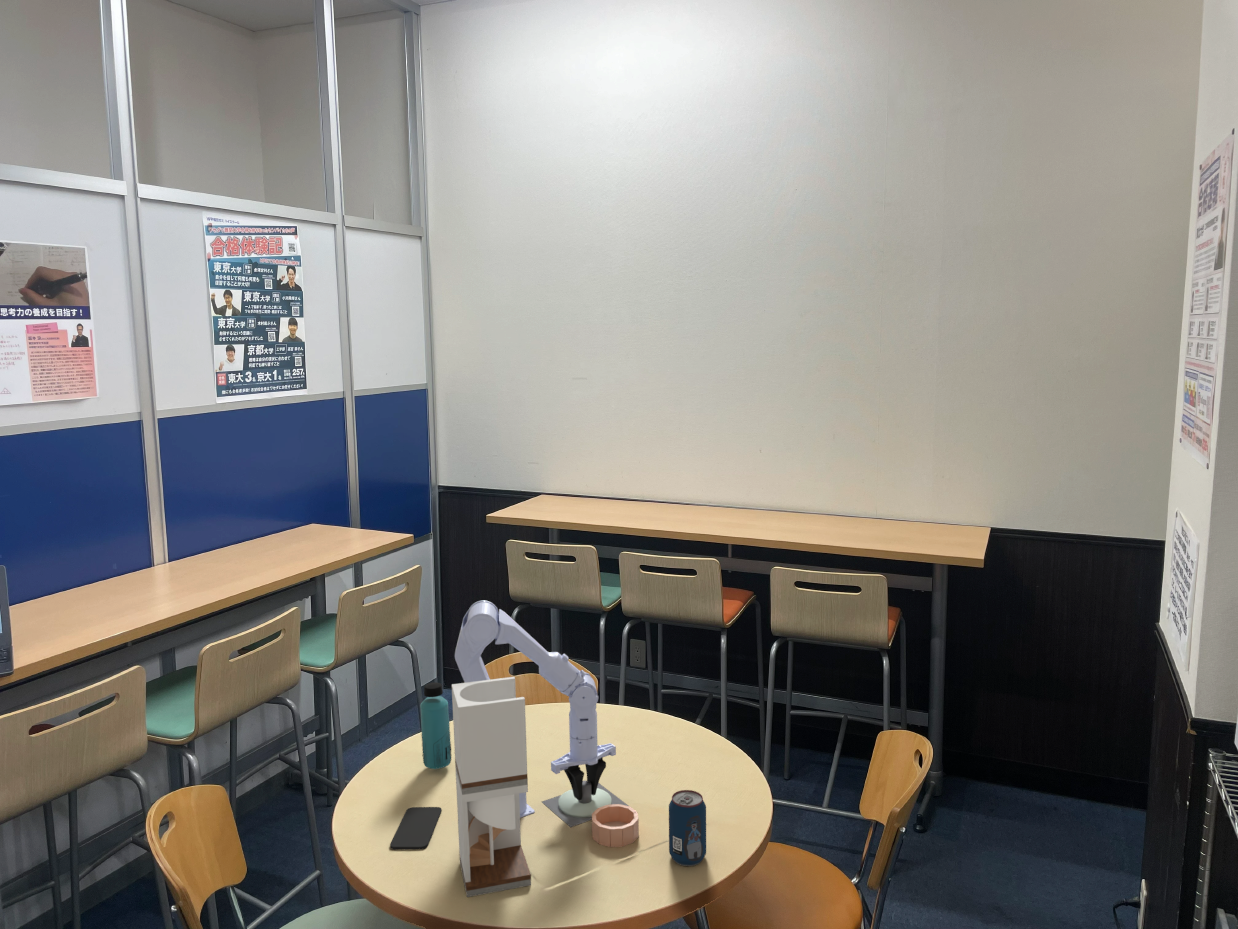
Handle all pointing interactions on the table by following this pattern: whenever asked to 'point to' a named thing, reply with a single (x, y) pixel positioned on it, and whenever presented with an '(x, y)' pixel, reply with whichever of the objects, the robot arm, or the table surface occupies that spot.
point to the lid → (583, 801)
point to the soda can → (687, 828)
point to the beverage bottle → (435, 728)
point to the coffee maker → (490, 784)
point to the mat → (574, 821)
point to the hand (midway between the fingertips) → (584, 795)
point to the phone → (416, 828)
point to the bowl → (615, 825)
